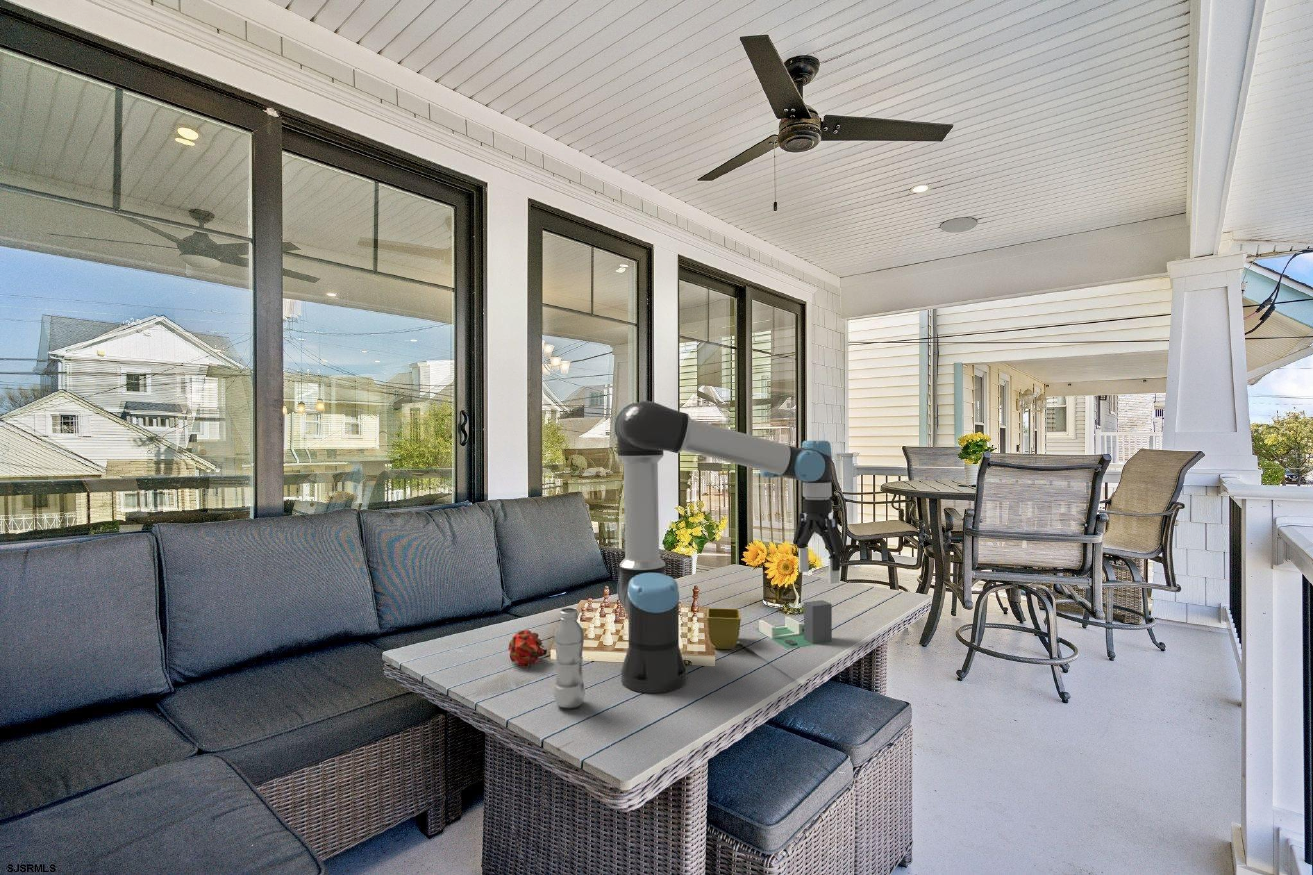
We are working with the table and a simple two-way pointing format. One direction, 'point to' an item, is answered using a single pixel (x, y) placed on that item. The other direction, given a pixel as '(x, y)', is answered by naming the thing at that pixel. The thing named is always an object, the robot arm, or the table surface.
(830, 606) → the plug
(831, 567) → the robot arm
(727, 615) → the flower pot
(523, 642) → the dragon fruit
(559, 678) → the plastic bottle
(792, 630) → the board
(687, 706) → the table surface
